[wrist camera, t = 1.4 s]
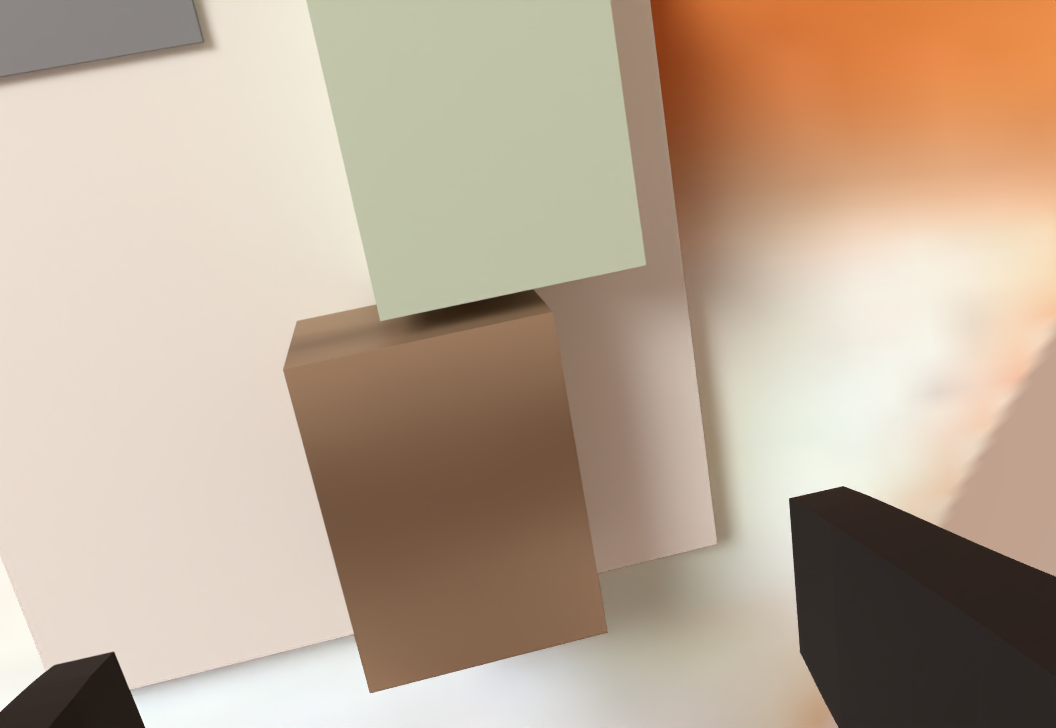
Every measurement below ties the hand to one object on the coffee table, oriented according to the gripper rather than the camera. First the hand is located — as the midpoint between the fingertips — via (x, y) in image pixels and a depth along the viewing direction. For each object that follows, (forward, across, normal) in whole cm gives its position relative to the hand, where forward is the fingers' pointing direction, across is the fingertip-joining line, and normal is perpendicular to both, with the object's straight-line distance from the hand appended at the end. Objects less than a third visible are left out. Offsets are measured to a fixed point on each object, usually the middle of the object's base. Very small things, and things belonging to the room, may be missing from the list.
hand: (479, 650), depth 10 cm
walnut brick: (+8, 0, +1) cm, 8 cm away
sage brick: (+8, -1, -5) cm, 10 cm away
